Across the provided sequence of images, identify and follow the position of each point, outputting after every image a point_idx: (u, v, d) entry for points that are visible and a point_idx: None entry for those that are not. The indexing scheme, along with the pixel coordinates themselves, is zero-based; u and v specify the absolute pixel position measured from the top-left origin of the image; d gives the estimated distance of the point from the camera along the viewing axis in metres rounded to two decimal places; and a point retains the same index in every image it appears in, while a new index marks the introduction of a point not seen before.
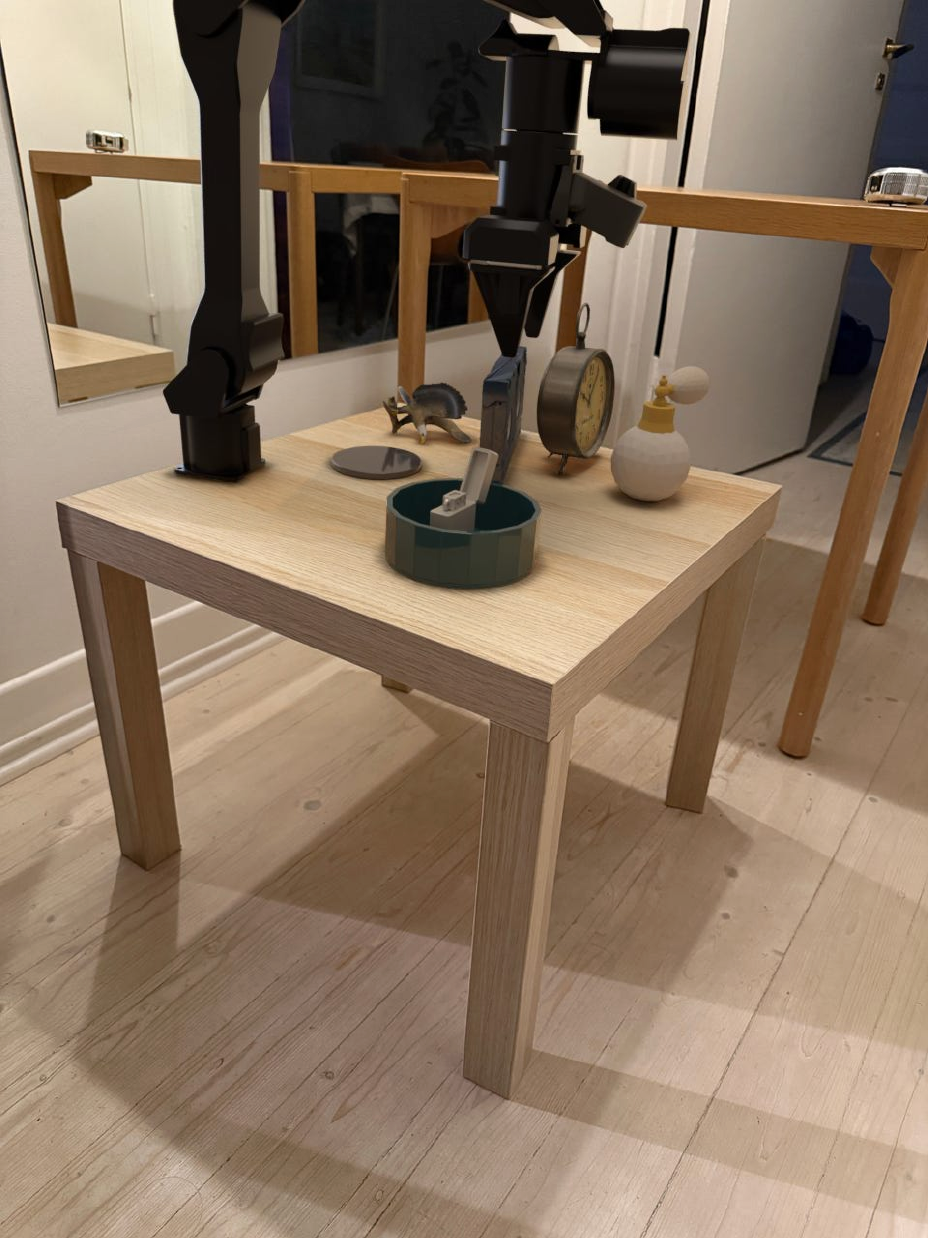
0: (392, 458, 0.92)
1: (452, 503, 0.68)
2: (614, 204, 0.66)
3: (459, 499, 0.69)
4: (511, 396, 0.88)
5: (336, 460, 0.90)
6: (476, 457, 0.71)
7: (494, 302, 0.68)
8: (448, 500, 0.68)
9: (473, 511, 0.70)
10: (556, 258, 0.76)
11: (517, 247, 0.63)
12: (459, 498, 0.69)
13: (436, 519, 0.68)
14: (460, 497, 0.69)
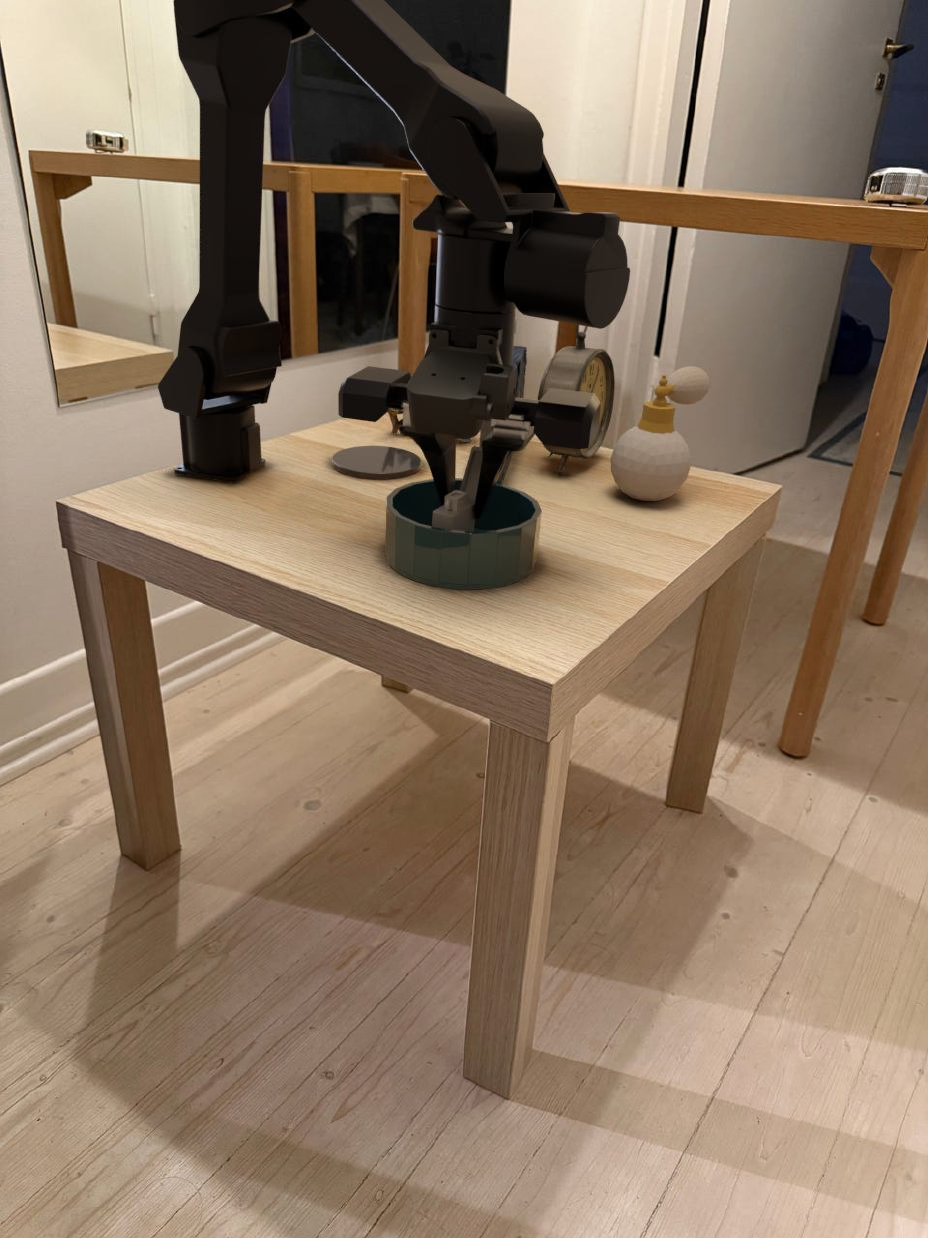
0: (392, 458, 0.92)
1: (454, 503, 0.68)
2: None
3: (461, 500, 0.69)
4: None
5: (336, 460, 0.90)
6: (475, 457, 0.71)
7: None
8: (451, 500, 0.68)
9: (474, 511, 0.70)
10: None
11: None
12: (461, 498, 0.68)
13: (439, 519, 0.68)
14: (462, 497, 0.69)
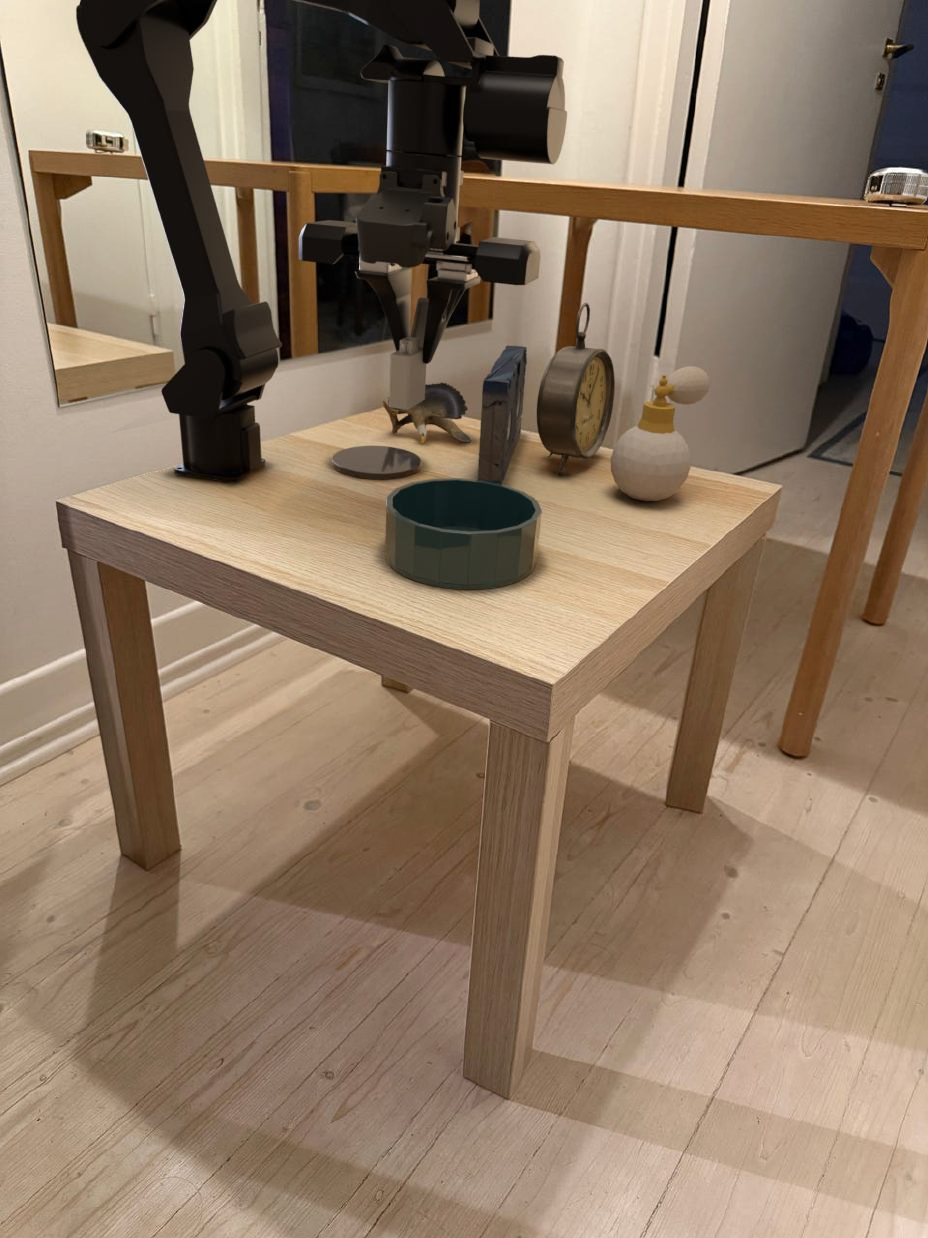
0: (392, 458, 0.92)
1: (409, 346, 0.74)
2: None
3: (415, 343, 0.74)
4: (511, 396, 0.88)
5: (336, 460, 0.90)
6: (421, 308, 0.77)
7: None
8: (406, 343, 0.74)
9: None
10: None
11: None
12: (415, 342, 0.74)
13: (397, 361, 0.73)
14: (415, 341, 0.74)
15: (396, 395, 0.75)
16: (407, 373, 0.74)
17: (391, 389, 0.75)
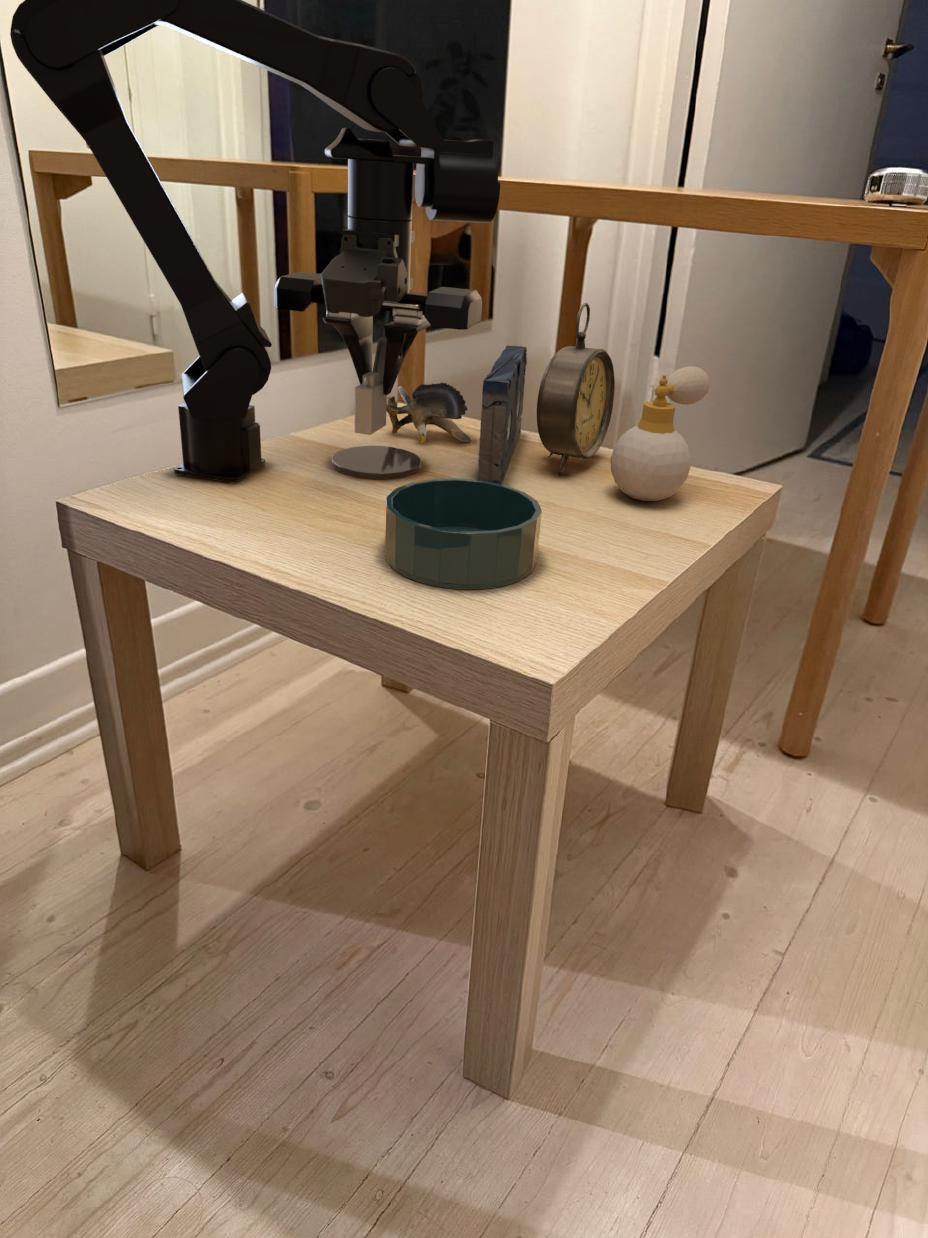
0: (392, 458, 0.92)
1: (371, 380, 0.86)
2: None
3: (375, 377, 0.86)
4: (511, 396, 0.88)
5: (336, 460, 0.90)
6: (382, 346, 0.89)
7: None
8: (368, 378, 0.85)
9: None
10: None
11: None
12: (375, 376, 0.86)
13: (360, 393, 0.85)
14: (376, 376, 0.86)
15: (360, 422, 0.86)
16: (369, 403, 0.85)
17: (356, 417, 0.86)
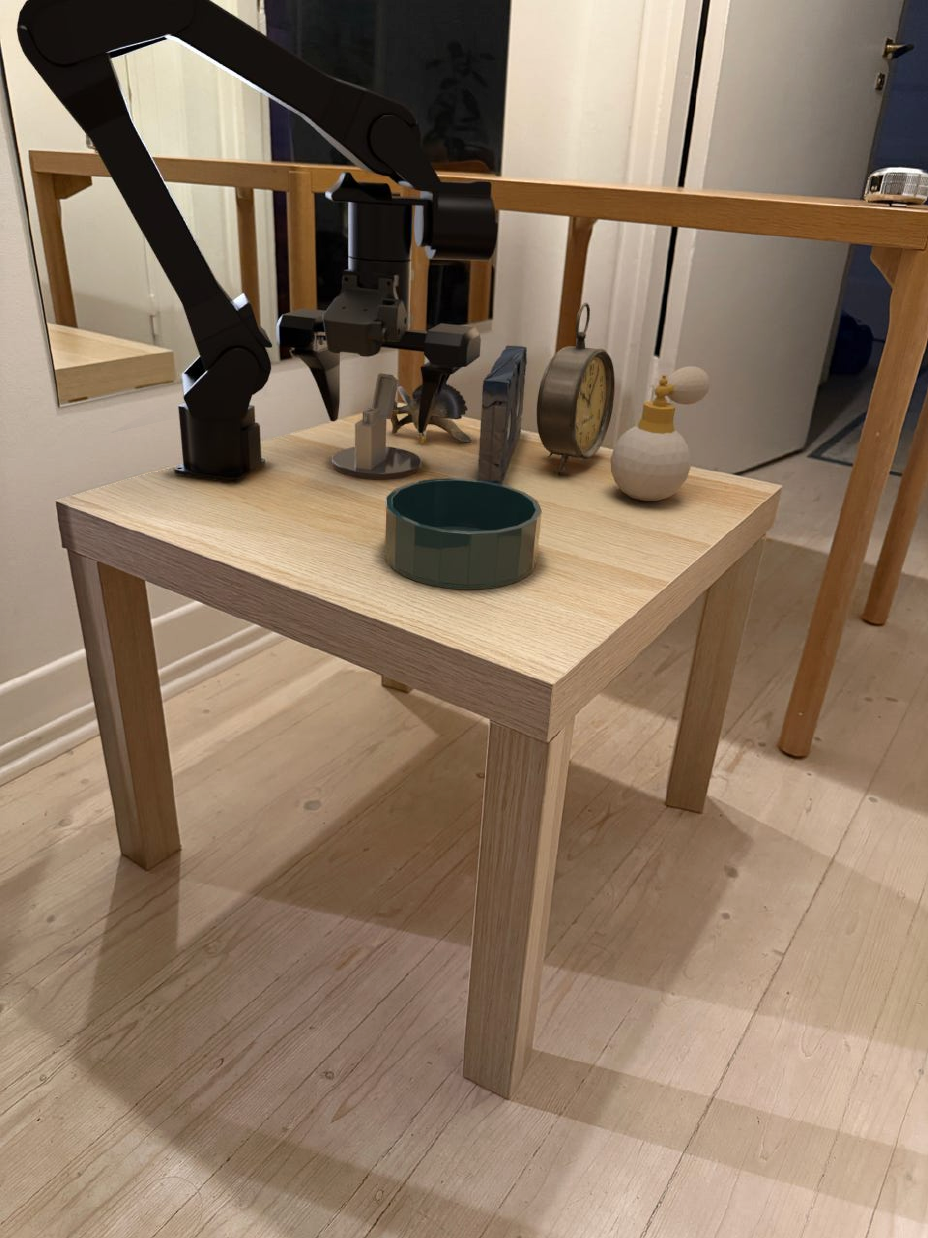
0: (392, 458, 0.92)
1: (371, 417, 0.87)
2: None
3: (375, 414, 0.88)
4: (511, 396, 0.88)
5: (336, 460, 0.90)
6: (381, 382, 0.90)
7: None
8: (368, 414, 0.87)
9: (385, 424, 0.90)
10: None
11: None
12: (375, 413, 0.88)
13: (360, 430, 0.87)
14: (376, 412, 0.88)
15: (360, 458, 0.88)
16: (369, 440, 0.87)
17: (356, 453, 0.88)
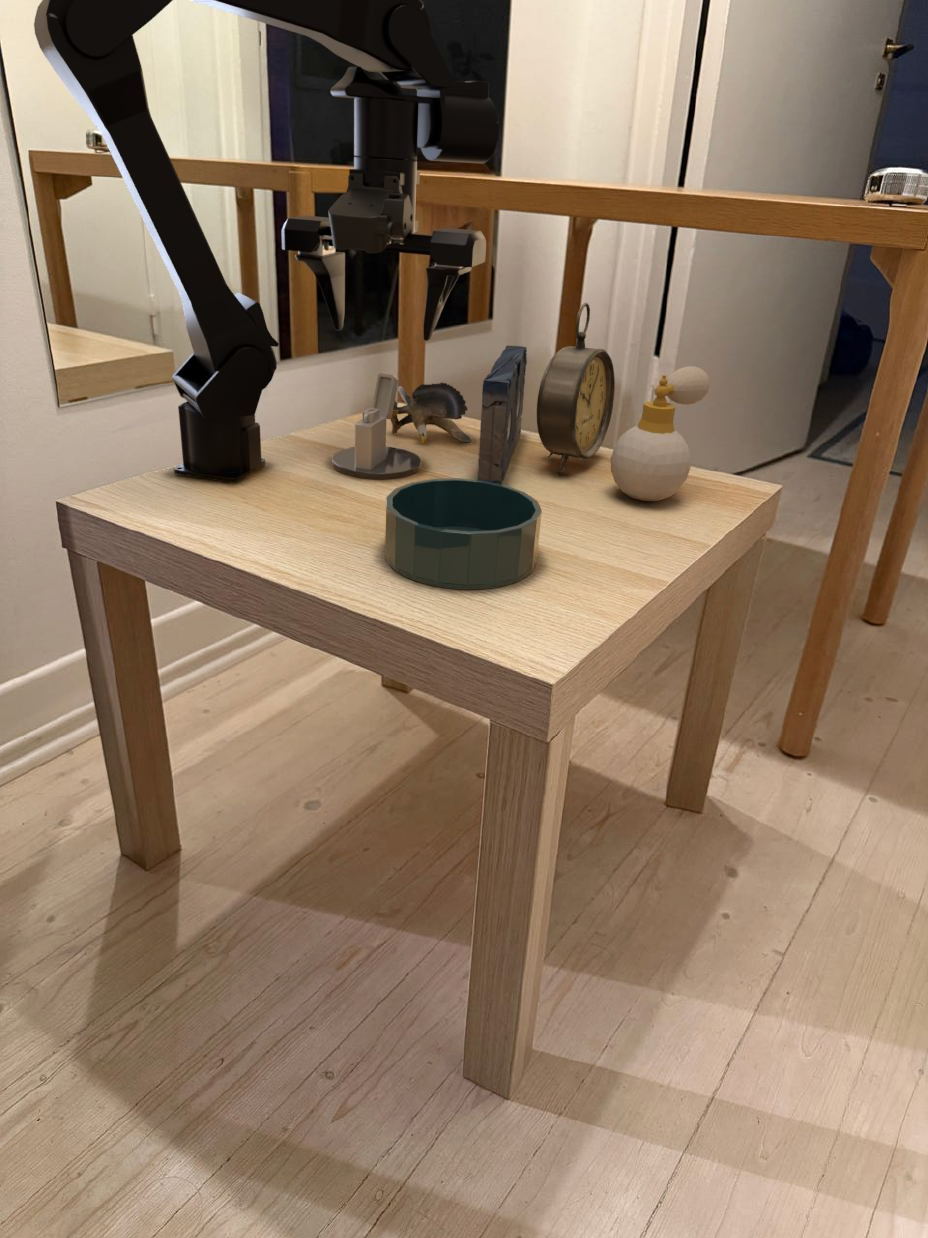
0: (392, 458, 0.92)
1: (371, 417, 0.87)
2: None
3: (375, 414, 0.88)
4: (511, 396, 0.88)
5: (336, 460, 0.90)
6: (381, 382, 0.90)
7: None
8: (368, 414, 0.87)
9: (385, 424, 0.90)
10: None
11: None
12: (375, 413, 0.88)
13: (360, 430, 0.87)
14: (376, 412, 0.88)
15: (360, 458, 0.88)
16: (369, 440, 0.87)
17: (356, 453, 0.88)
